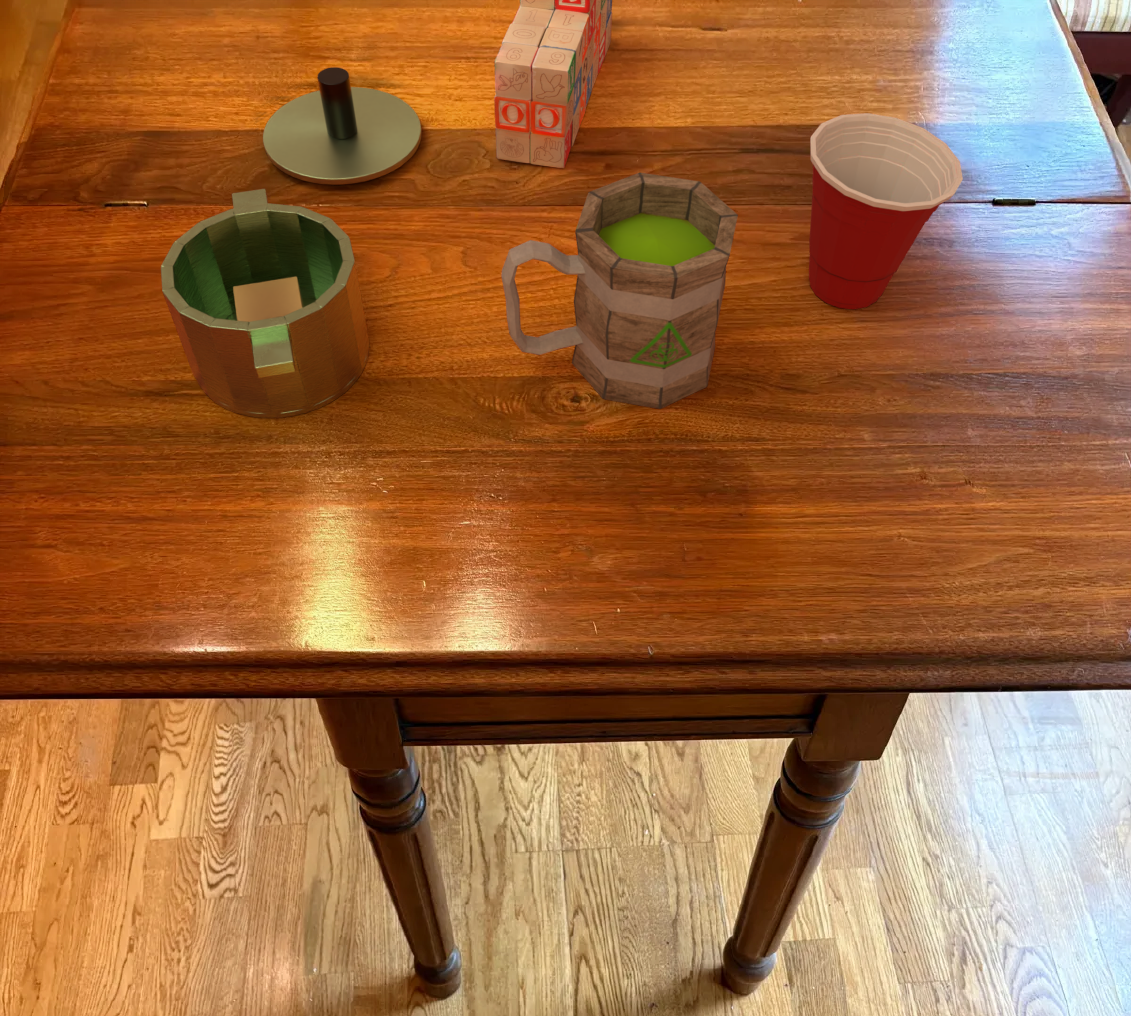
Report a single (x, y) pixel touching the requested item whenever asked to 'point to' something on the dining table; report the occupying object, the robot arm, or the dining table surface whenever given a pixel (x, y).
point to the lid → (341, 133)
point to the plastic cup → (871, 202)
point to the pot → (276, 345)
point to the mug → (638, 288)
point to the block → (267, 299)
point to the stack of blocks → (548, 77)
